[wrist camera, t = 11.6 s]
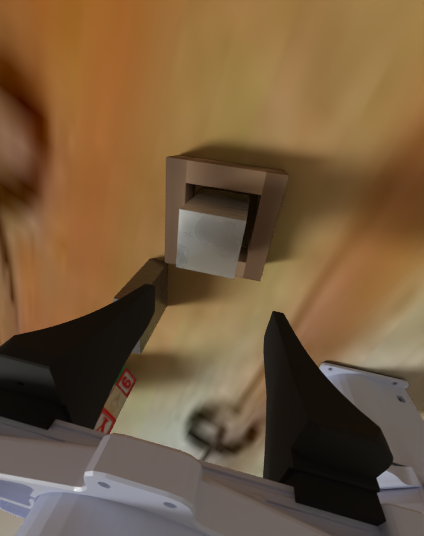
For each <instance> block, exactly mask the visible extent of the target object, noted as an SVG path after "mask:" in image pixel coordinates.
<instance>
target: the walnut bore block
mask: <svg viewBox="0 0 424 536" xmlns="http://www.w3.org/2000/svg"><path fill="white" fill-rule="evenodd" d="M288 178H289V175H288V174H287V173H286V172H285V171H284V170H277V169H270V168H264V167H257V166H250V165H244V164H237V163H230V162H224V161H217V160H210V159H204V158H197V157H190V156H184V155H175V156H169V157H166V213H165V263H169V264H175V265H176V258H177V241H178V223H179V209H180V208H181V207H182V206H183V205H185V204H186V203H187V202H188V201H189V200H190V199H192V198H193V197H194V192H195V184H196V185H202V186H209V187H215V188H221V189H227V190H233V191H239V192H246V193H252V194H258V195H259V199H258V203H257V208H256V212H255V217H254V221H253V226H252V230H251V235H250V239H249V244H248V248H244V247H241V249H240V253H239V258H238V263H237V267H236V272H235V277H240V278H245V279H251V280H256V281H260V280H261V276H262V272H263V269H264V265H265V262H266V258H267V254H268V251H269V247H270V243H271V240H272V236H273V233H274V229H275V225H276V222H277V218H278V214H279V211H280V207H281V204H282V200H283V196H284V193H285V189H286V185H287V182H288Z"/></svg>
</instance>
